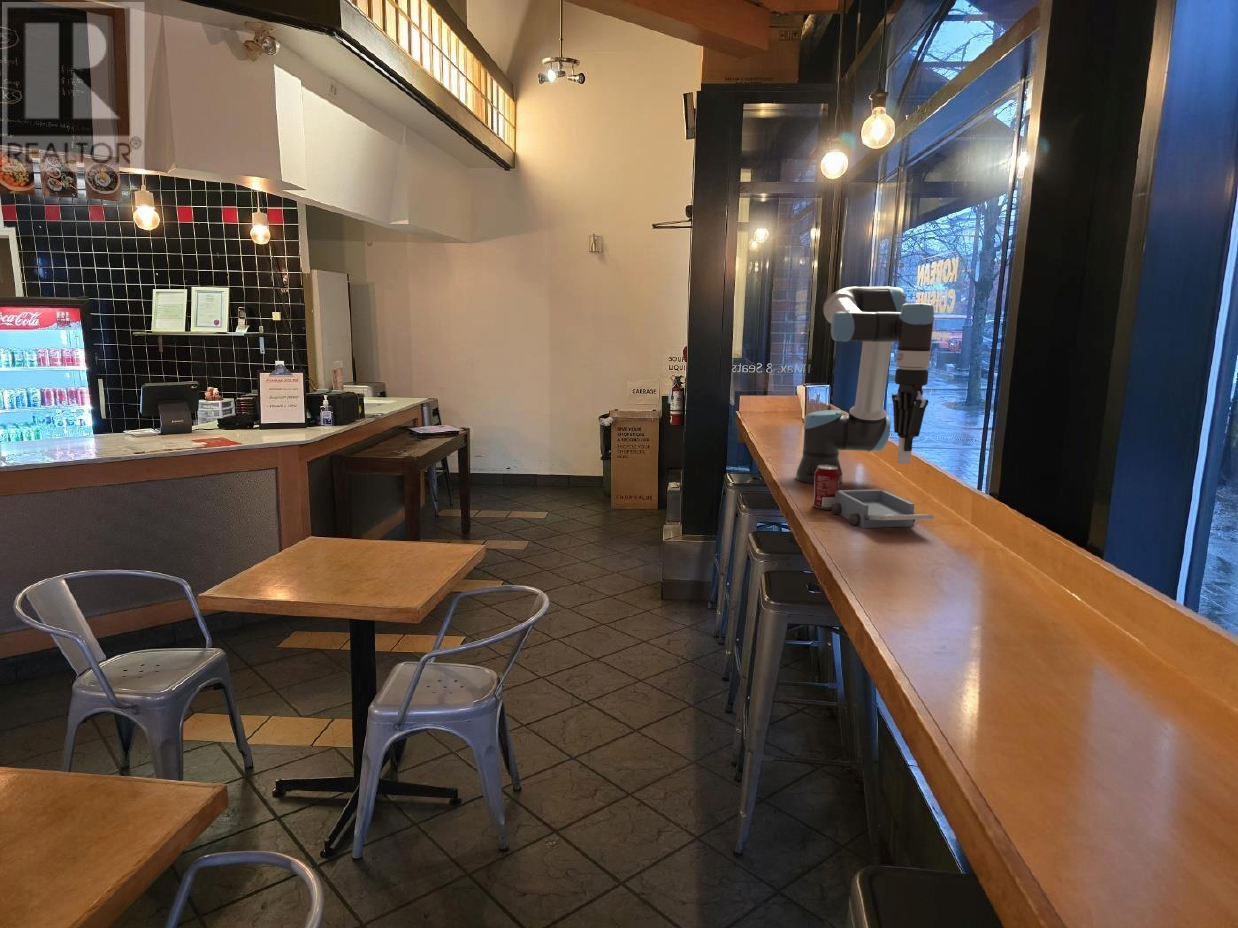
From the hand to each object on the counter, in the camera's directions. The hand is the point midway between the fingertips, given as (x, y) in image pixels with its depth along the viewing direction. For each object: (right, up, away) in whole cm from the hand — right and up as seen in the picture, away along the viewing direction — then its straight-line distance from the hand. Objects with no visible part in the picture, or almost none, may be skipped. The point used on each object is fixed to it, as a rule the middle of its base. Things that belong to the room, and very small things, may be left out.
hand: (903, 463), depth 185 cm
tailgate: (-1, -14, +7) cm, 16 cm away
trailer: (-2, -15, +16) cm, 22 cm away
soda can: (-12, -13, +27) cm, 33 cm away
